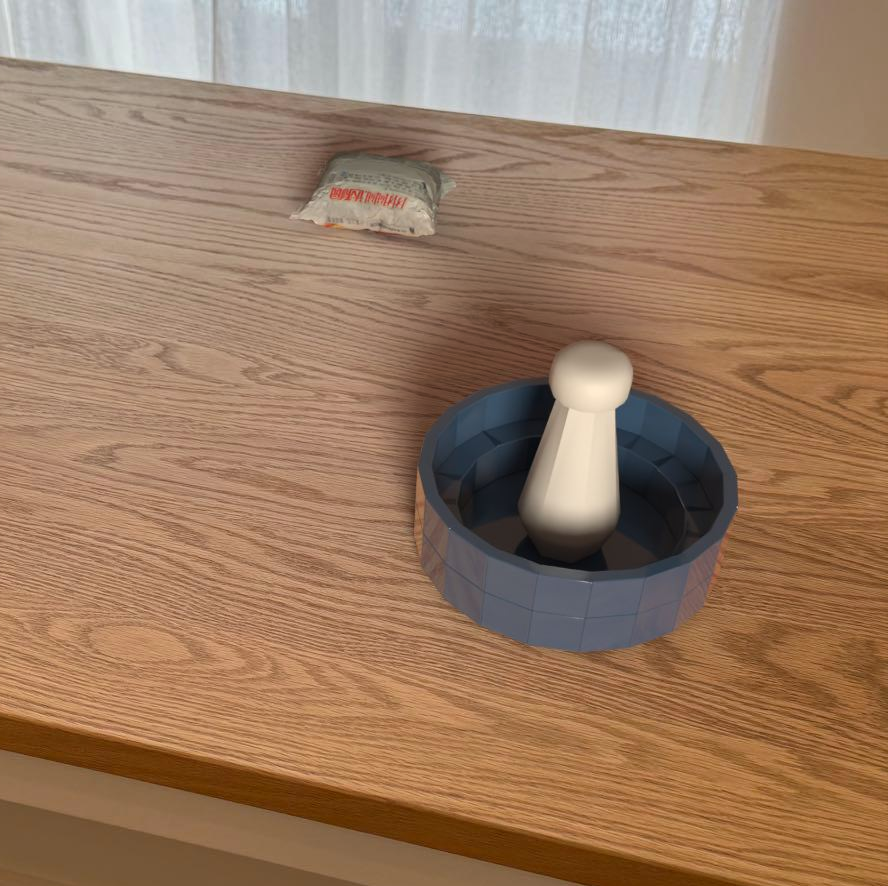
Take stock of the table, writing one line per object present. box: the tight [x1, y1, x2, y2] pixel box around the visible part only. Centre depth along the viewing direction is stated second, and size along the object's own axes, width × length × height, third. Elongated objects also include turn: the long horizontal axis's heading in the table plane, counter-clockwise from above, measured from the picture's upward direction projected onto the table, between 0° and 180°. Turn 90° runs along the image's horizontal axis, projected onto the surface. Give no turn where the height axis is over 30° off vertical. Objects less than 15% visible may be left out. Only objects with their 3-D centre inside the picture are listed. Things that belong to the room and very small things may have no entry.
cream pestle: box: [518, 339, 634, 563], centre depth 69 cm, size 6×6×13 cm
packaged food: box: [288, 150, 458, 238], centre depth 100 cm, size 9×12×5 cm
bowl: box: [413, 376, 739, 653], centre depth 71 cm, size 18×18×6 cm
